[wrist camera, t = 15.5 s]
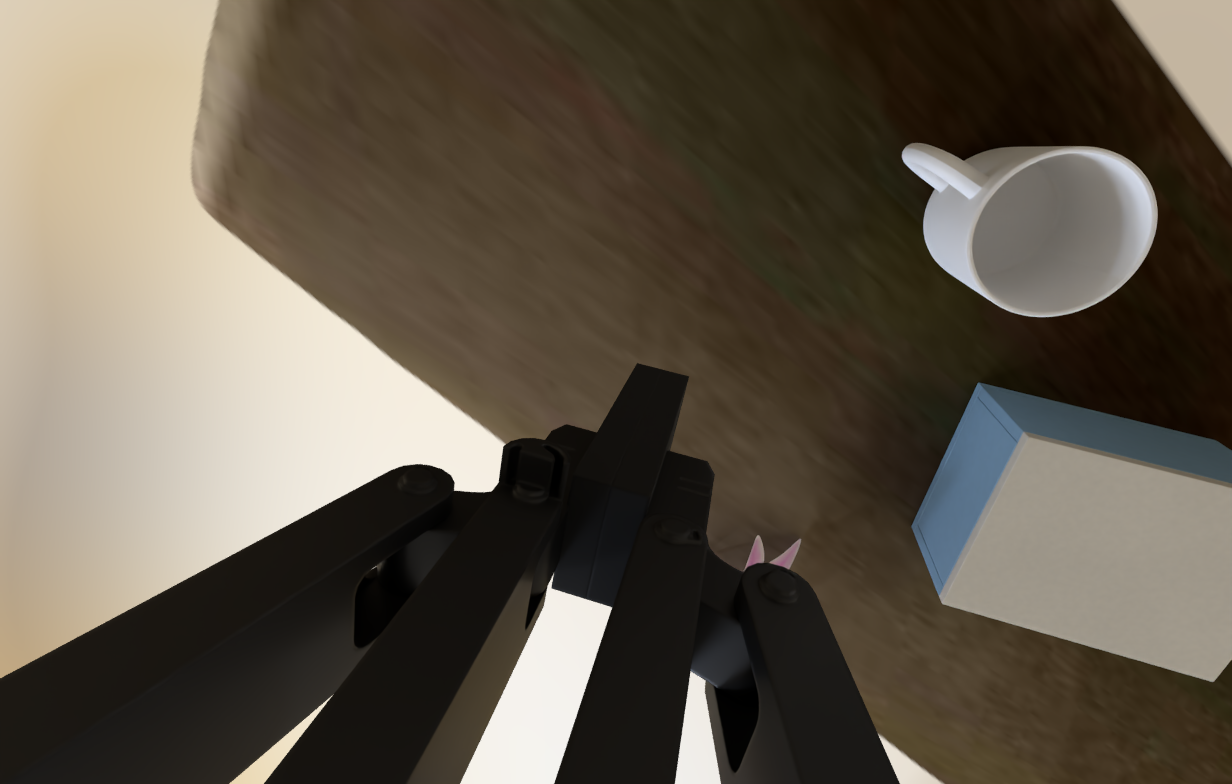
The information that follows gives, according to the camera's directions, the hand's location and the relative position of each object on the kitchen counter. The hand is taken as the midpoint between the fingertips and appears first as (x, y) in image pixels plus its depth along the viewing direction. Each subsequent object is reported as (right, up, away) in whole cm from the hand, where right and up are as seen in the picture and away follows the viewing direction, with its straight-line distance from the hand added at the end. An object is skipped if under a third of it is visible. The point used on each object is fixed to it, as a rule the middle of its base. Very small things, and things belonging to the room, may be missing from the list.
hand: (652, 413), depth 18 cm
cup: (+22, +13, +22) cm, 34 cm away
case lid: (+30, -9, +20) cm, 37 cm away
